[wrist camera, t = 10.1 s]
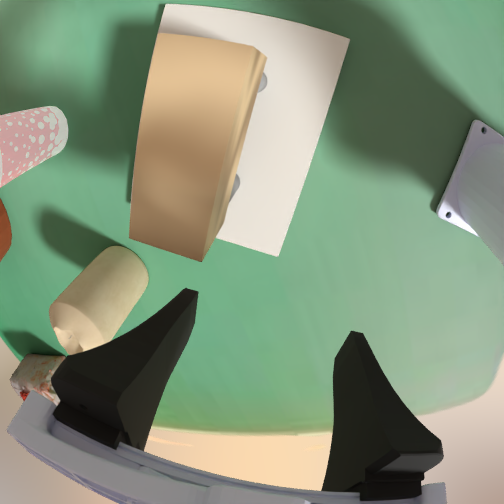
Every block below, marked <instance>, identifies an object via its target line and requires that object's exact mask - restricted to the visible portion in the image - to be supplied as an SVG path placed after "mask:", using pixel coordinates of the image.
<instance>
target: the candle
mask: <svg viewBox="0 0 504 504" xmlns="http://www.w3.org/2000/svg"><path fill="white" fill-rule="evenodd" d="M148 281H149V276H148V271H147V269H146V266H145V265H144V263H143V261H142V260H141V259H140V258H139V257H138V256H137V255H136V254H135V253H134V252H132V251H131V250H129V249H127V248H125V247H122V246H110V247H108V248H106V249H105V250H103V251H102V252H101V253H100V254H99V255H98V256H97V257H96V258H95V259H94V260H93V261H92V262H91V263H90V264H89V265H88V266H87V267H86V268H85V269H84V270H83V271H82V272H81V273H80V274H79V275H78V276H77V277H76V278H75V279H74V280H73V282H72V283H71V284H70V285H69V286H68V287H67V288H66V289H65V290H64V291H63V292H62V293H61V294H60V295H59V297H58V298H57V299H56V300H55V301H54V302H53V303H52V304H51V306H50V308H49V316H50V322H51V325H52V328H53V330H54V332H55V334H56V336H57V338H58V340H59V342H60V344H61V345H62V346H63V347H64V348H65V350H66V351H67V353H68V354H70V355H73V354H76V353H80V352H83V351H87V350H90V349H92V348H95V347H98V346H100V345H103V344H105V343H107V342H110V341H111V340H112V338H113V337H114V335H115V334H116V332H117V331H118V329H119V328H120V326H121V325H122V323H123V322H124V320H125V319H126V317H127V316H128V314H129V313H130V311H131V310H132V308H133V307H134V306H135V304H136V303H137V301H138V300H139V298H140V297H141V295H142V294H143V292H144V291H145V289H146V287H147V285H148Z"/></svg>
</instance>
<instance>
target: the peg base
mask: <svg viewBox="0 0 504 504" xmlns="http://www.w3.org/2000/svg"><path fill="white" fill-rule="evenodd" d="M158 33H166V34H178V35H187V36H196V37H203V38H211V39H217V40H223V41H229V42H235V43H240V44H245V45H250V46H254V47H255V48H256V49H258V50H259V51H260V52H261V53H263V54H264V55H265V56H266V57H267V61H266V64H265V68H264V71H263V75H262V78H261V82H260V85H259V89H258V92H257V96H256V100H255V103H254V107H253V111H252V114H251V118H250V122H249V126H248V129H247V133H246V137H245V141H244V144H243V148H242V152H241V156H240V160H239V164H238V168H237V172H236V176H235V180H234V184H233V188H232V192H231V196H230V200H229V204H228V208H227V212H226V216H225V221H224V224H223V225H222V227H221V229H220V231H219V232H218V234H217V236H216V238H218V239H221V240H225V241H228V242H231V243H234V244H238V245H241V246H244V247H247V248H251V249H254V250H257V251H260V252H264V253H267V254H270V255H273V256H277V257H278V256H279V253H280V250H281V247H282V245H283V242H284V239H285V236H286V233H287V230H288V228H289V225H290V222H291V219H292V216H293V213H294V210H295V208H296V205H297V202H298V199H299V196H300V193H301V190H302V187H303V184H304V181H305V178H306V175H307V172H308V170H309V167H310V164H311V161H312V158H313V155H314V152H315V149H316V146H317V143H318V139H319V136H320V133H321V130H322V127H323V124H324V121H325V118H326V115H327V112H328V109H329V106H330V102H331V99H332V96H333V93H334V90H335V87H336V84H337V80H338V77H339V74H340V71H341V67H342V64H343V61H344V58H345V54H346V51H347V48H348V45H349V41H350V39H349V38H346V37H343V36H340V35H337V34H334V33H331V32H328V31H324V30H321V29H318V28H314V27H311V26H307V25H304V24H300V23H296V22H292V21H288V20H284V19H279V18H275V17H270V16H266V15H260V14H255V13H250V12H244V11H237V10H231V9H223V8H215V7H206V6H195V5H180V4H166V5H165V8H164V12H163V15H162V19H161V22H160V26H159V30H158ZM157 37H158V34H157ZM156 41H157V38H156ZM155 45H156V42H155ZM154 49H155V46H154ZM153 53H154V50H153ZM152 58H153V55H152ZM151 62H152V59H151ZM150 67H151V64H150ZM149 71H150V69H149ZM148 76H149V73H148ZM147 81H148V78H147ZM146 86H147V83H146ZM145 92H146V89H145ZM144 97H145V94H144ZM143 103H144V100H143ZM142 109H143V106H142ZM141 115H142V112H141ZM140 121H141V118H140ZM139 127H140V124H139ZM138 134H139V131H138ZM137 142H138V139H137ZM136 149H137V146H136ZM135 158H136V154H135ZM134 166H135V163H134ZM133 176H134V173H133ZM132 187H133V183H132ZM131 198H132V195H131ZM130 212H131V209H130Z"/></svg>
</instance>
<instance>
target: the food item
mask: <svg viewBox="0 0 504 504" xmlns="http://www.w3.org/2000/svg"><path fill="white" fill-rule="evenodd" d="M65 358H66V357H65V356H49V355H38V354H27V355H26V356H25V357H24V359H23V360H22V361H21V363H20V364H19V366H18V368H17V369H16V370H15V372H14V373H13V374H12V377H11V379H10V381H11V385H12V387H13V388H14V390H15V391H16V393H17V394H18V395H19V396H20V397H21V398H22V399H23V400H24V401H25V399H26V398H27V396H28V395H29V393H30V392H31V390H34V391H36V392H37V393H39V394H41V395H42V396H44V397H46V398H47V399H49V400H50V401H52V402H53V403H54V404H56V406H57V405H58V404H59V402H60V399H59V398H58V396H57V394H56V392H55V390H54V389H53V387H52V384H51V377H52V375H53V374H54V372H55V371H56V369H57V368H58V366H59V365H60V364H61V362H62V361H63V360H64V359H65Z"/></svg>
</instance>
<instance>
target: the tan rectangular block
mask: <svg viewBox="0 0 504 504" xmlns="http://www.w3.org/2000/svg"><path fill="white" fill-rule="evenodd" d="M266 61H267V57H266V56H265V55H264V54H263V53H261V52H260V51H259V50H258V49H256V48H255V47H254V46H250V45H245V44H240V43H235V42H229V41H223V40H217V39H211V38H203V37H196V36H187V35H178V34H166V33H158V37H157V41H156V45H155V49H154V53H153V58H152V62H151V67H150V71H149V76H148V81H147V86H146V92H145V97H144V103H143V109H142V115H141V121H140V127H139V134H138V142H137V149H136V158H135V166H134V176H133V187H132V198H131V212H130V230H129V238H130V239H133V240H136V241H139V242H142V243H145V244H148V245H151V246H154V247H157V248H160V249H163V250H166V251H169V252H172V253H175V254H178V255H181V256H184V257H187V258H190V259H193V260H197V261H200V262H202V261H203V259H204V257H205V255H206V253H207V252H208V250H209V248H210V246H211V245H212V243H213V241H214V239H215V238H216V236H217V234H218V232H219V231H220V229H221V227H222V225H223V224H224V221H225V216H226V212H227V208H228V204H229V200H230V196H231V192H232V188H233V184H234V180H235V176H236V172H237V168H238V164H239V160H240V156H241V152H242V148H243V144H244V141H245V137H246V133H247V129H248V126H249V122H250V118H251V114H252V111H253V107H254V103H255V100H256V96H257V92H258V89H259V85H260V82H261V78H262V75H263V71H264V68H265V64H266Z"/></svg>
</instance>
